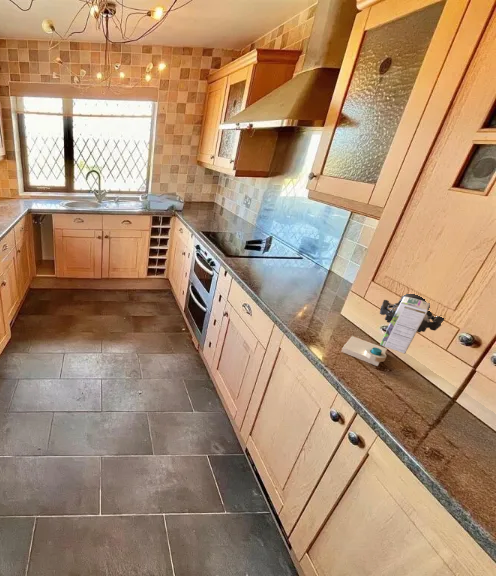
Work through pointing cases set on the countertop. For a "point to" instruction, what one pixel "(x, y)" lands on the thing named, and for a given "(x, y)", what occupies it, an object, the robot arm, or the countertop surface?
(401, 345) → the syrup box
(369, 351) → the scale
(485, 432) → the countertop surface
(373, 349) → the tare button
